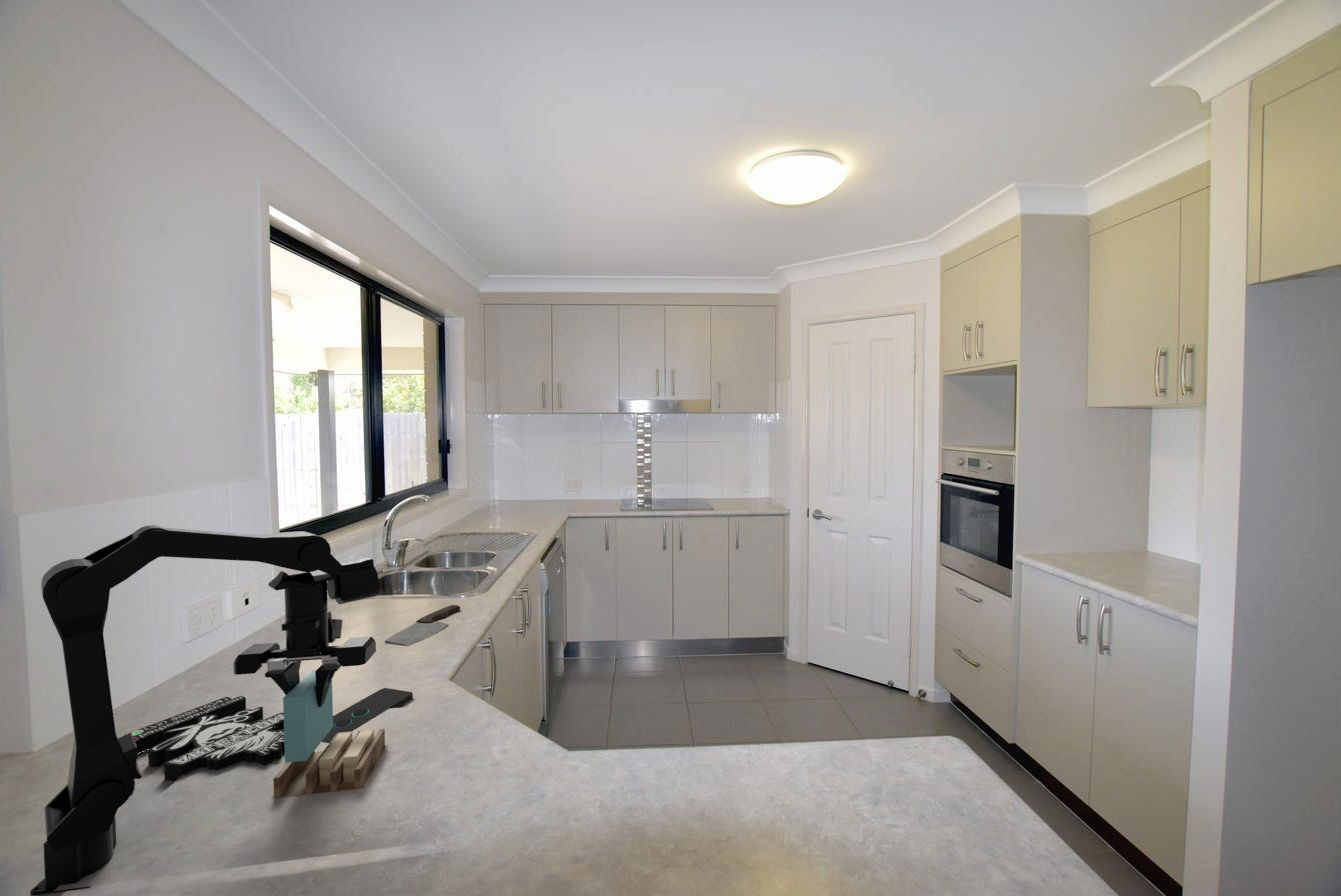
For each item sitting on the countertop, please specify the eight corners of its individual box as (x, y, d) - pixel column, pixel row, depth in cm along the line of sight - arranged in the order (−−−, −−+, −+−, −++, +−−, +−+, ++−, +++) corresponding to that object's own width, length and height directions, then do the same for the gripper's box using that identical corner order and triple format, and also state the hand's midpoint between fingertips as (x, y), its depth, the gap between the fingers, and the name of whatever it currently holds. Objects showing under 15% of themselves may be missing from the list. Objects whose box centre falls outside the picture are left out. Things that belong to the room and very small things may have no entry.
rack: (363, 794, 87) (362, 768, 87) (271, 804, 85) (270, 778, 84) (387, 750, 99) (387, 728, 99) (307, 758, 96) (306, 735, 96)
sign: (234, 693, 115) (327, 726, 102) (234, 707, 115) (327, 742, 102) (110, 739, 98) (202, 786, 85) (111, 756, 98) (203, 806, 85)
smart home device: (296, 735, 102) (383, 686, 121) (296, 744, 102) (383, 694, 121) (331, 742, 99) (414, 691, 118) (332, 752, 99) (415, 699, 118)
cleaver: (445, 610, 177) (445, 603, 177) (474, 611, 175) (474, 605, 175) (380, 646, 148) (380, 638, 148) (413, 649, 146) (413, 641, 146)
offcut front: (357, 781, 89) (356, 756, 88) (343, 782, 88) (342, 757, 88) (374, 752, 96) (373, 729, 96) (361, 753, 96) (361, 730, 96)
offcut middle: (333, 783, 88) (333, 758, 88) (319, 785, 88) (319, 759, 87) (352, 754, 96) (352, 731, 96) (339, 755, 95) (339, 732, 95)
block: (306, 760, 86) (304, 696, 86) (285, 762, 86) (283, 698, 85) (333, 726, 96) (331, 668, 96) (313, 728, 96) (312, 670, 95)
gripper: (385, 593, 100) (387, 680, 100) (268, 599, 96) (270, 689, 97) (363, 613, 89) (365, 710, 89) (230, 621, 85) (233, 722, 86)
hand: (309, 706), depth 91 cm, fingers closed on block, 3 cm apart
